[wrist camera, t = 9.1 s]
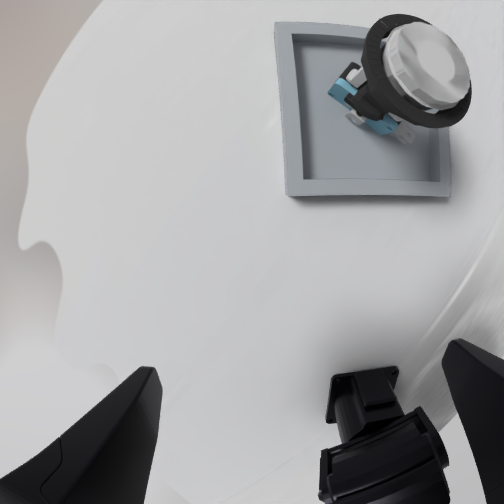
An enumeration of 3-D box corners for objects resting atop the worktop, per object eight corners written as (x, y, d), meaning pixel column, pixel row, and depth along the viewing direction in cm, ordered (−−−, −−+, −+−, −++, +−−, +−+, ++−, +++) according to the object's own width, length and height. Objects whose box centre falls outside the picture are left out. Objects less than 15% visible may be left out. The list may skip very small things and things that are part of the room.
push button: (419, 116, 17) (513, 94, 7) (384, 170, 18) (475, 177, 8) (348, 57, 16) (406, -14, 6) (307, 109, 17) (348, 54, 8)
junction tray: (437, 194, 19) (450, 196, 17) (285, 194, 19) (287, 196, 18) (423, 49, 15) (434, 42, 14) (274, 32, 16) (274, 21, 14)
